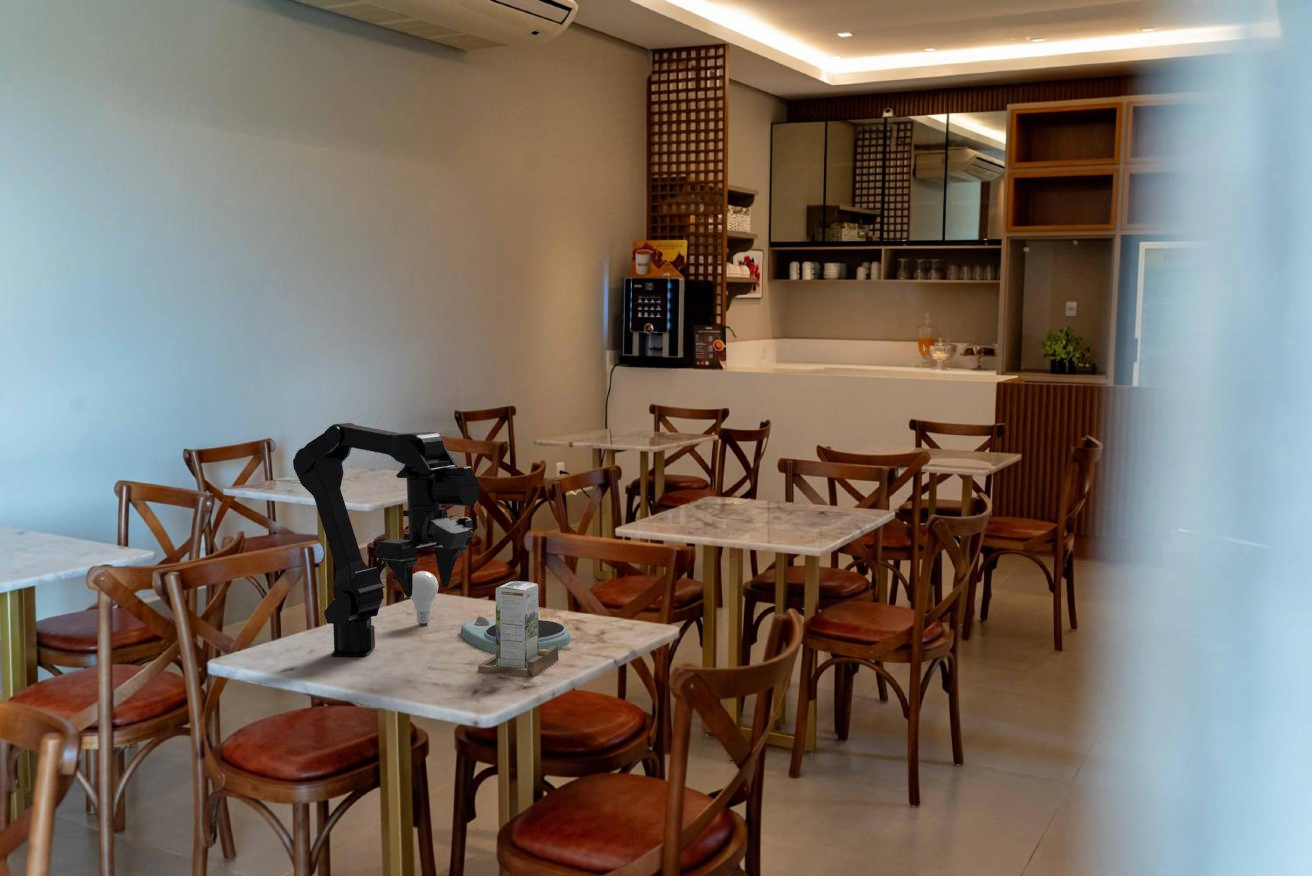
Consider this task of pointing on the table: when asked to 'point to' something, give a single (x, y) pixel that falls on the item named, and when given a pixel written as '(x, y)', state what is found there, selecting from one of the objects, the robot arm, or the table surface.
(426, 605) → the lightbulb
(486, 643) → the scale
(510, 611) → the syrup box
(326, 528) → the robot arm
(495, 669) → the square wooden frame
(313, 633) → the table surface
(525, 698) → the table surface
